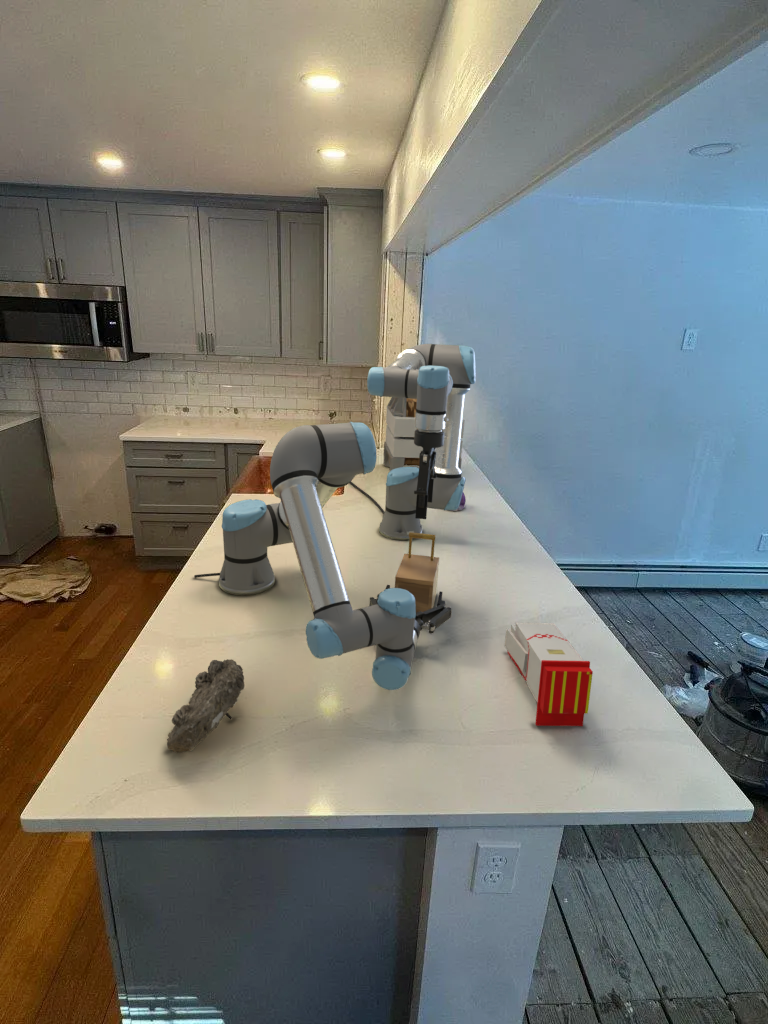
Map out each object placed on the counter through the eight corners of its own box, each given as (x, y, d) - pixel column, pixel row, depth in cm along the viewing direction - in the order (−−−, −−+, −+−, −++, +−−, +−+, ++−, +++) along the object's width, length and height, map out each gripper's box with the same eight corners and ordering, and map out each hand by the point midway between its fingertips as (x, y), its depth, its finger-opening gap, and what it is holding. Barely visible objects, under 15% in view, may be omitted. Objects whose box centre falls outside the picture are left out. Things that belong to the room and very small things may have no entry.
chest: (401, 590, 160) (403, 558, 157) (436, 594, 158) (438, 562, 155) (393, 615, 147) (395, 581, 143) (430, 620, 145) (433, 586, 142)
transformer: (382, 463, 289) (386, 382, 275) (445, 464, 293) (451, 384, 279) (390, 482, 257) (394, 392, 243) (460, 483, 261) (468, 394, 247)
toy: (550, 607, 134) (601, 667, 105) (545, 659, 137) (594, 732, 108) (499, 606, 134) (537, 666, 104) (495, 659, 137) (530, 731, 107)
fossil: (192, 660, 117) (244, 628, 112) (224, 691, 120) (276, 661, 115) (142, 746, 98) (202, 712, 93) (182, 779, 101) (242, 748, 96)
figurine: (452, 513, 222) (455, 476, 217) (438, 505, 231) (441, 469, 226) (471, 510, 227) (475, 474, 221) (457, 502, 235) (460, 467, 230)
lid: (404, 557, 157) (405, 528, 154) (438, 561, 156) (441, 532, 153) (395, 581, 143) (396, 549, 140) (433, 585, 142) (435, 554, 139)
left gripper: (346, 643, 129) (366, 599, 149) (455, 659, 125) (461, 612, 145) (347, 614, 127) (367, 573, 147) (458, 629, 123) (464, 585, 143)
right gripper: (440, 441, 129) (433, 527, 137) (448, 422, 153) (442, 496, 160) (407, 438, 131) (402, 524, 138) (421, 419, 154) (416, 494, 161)
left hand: (414, 592), depth 146 cm, fingers open, 13 cm apart
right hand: (424, 509), depth 149 cm, fingers open, 13 cm apart
